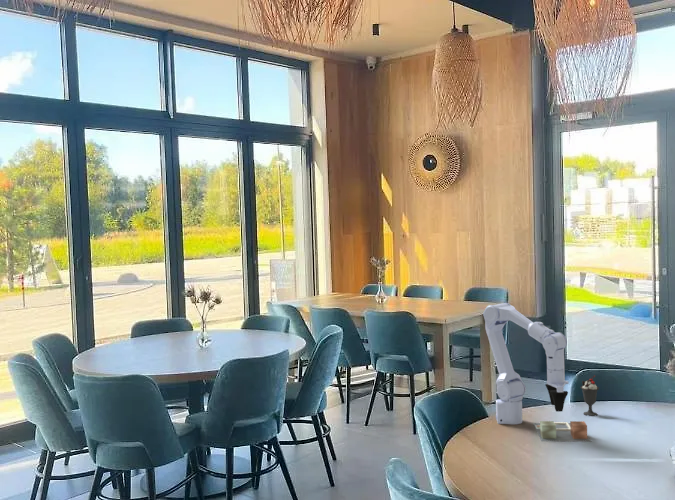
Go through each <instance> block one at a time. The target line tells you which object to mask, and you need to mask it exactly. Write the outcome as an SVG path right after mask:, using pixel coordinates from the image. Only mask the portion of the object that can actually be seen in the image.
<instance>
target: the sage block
mask: <svg viewBox="0 0 675 500" xmlns="http://www.w3.org/2000/svg"><path fill="white" fill-rule="evenodd" d="M554 422H555V421H550V420H549V421H548V420H546V421H545V420H542V421H541V420H540V421H539V423H540V435H541V437H542V439H556V425H555V423H554Z"/></svg>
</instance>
